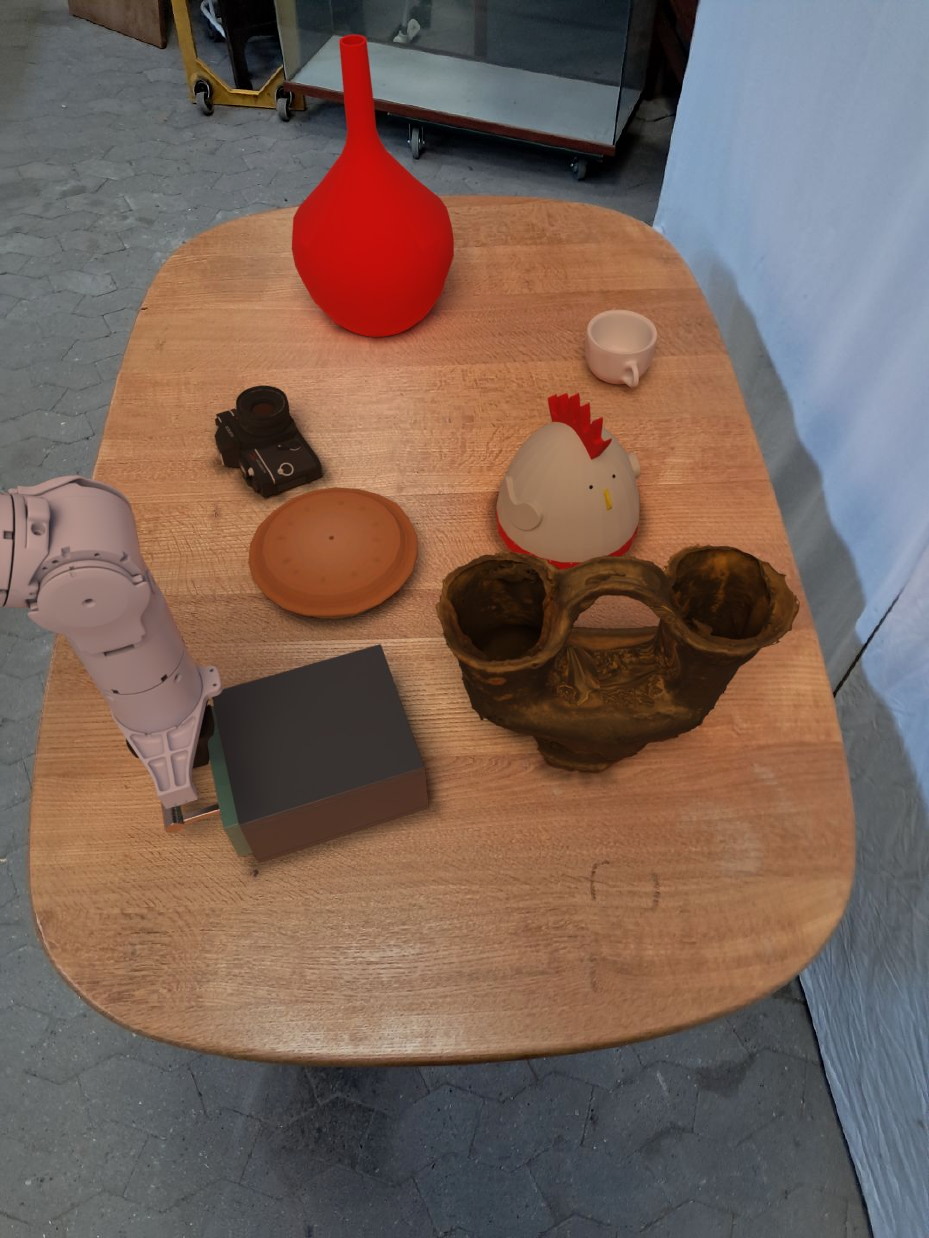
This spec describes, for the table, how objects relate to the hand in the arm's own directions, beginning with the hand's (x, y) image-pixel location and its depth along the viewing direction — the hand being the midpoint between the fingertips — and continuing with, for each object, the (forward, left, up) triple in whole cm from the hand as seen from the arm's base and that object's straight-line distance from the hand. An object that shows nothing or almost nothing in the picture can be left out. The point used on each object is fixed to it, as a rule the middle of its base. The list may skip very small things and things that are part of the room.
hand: (193, 760), depth 66 cm
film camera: (+12, +38, -8) cm, 41 cm away
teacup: (+52, +37, -8) cm, 64 cm away
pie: (+15, +20, -8) cm, 26 cm away
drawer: (+5, 0, -7) cm, 8 cm away
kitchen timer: (+38, +19, -8) cm, 43 cm away
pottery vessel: (+31, -3, -8) cm, 32 cm away
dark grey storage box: (+9, 0, -8) cm, 12 cm away
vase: (+30, +58, -8) cm, 66 cm away
